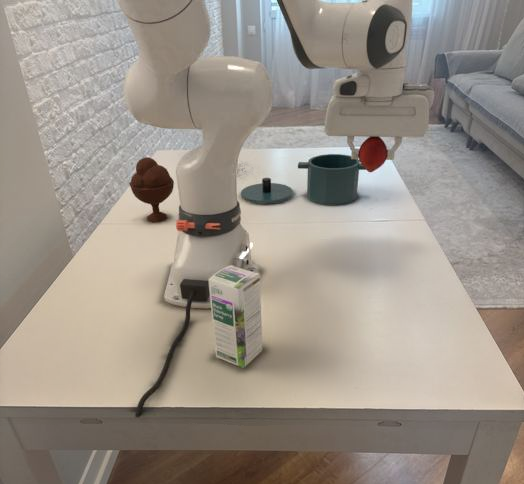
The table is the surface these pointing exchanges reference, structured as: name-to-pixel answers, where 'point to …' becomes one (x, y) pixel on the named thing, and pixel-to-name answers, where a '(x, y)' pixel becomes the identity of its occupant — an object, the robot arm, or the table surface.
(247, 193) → the lid
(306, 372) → the table surface
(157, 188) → the ice cream bowl
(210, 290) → the syrup box
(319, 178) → the pot
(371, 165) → the onion
